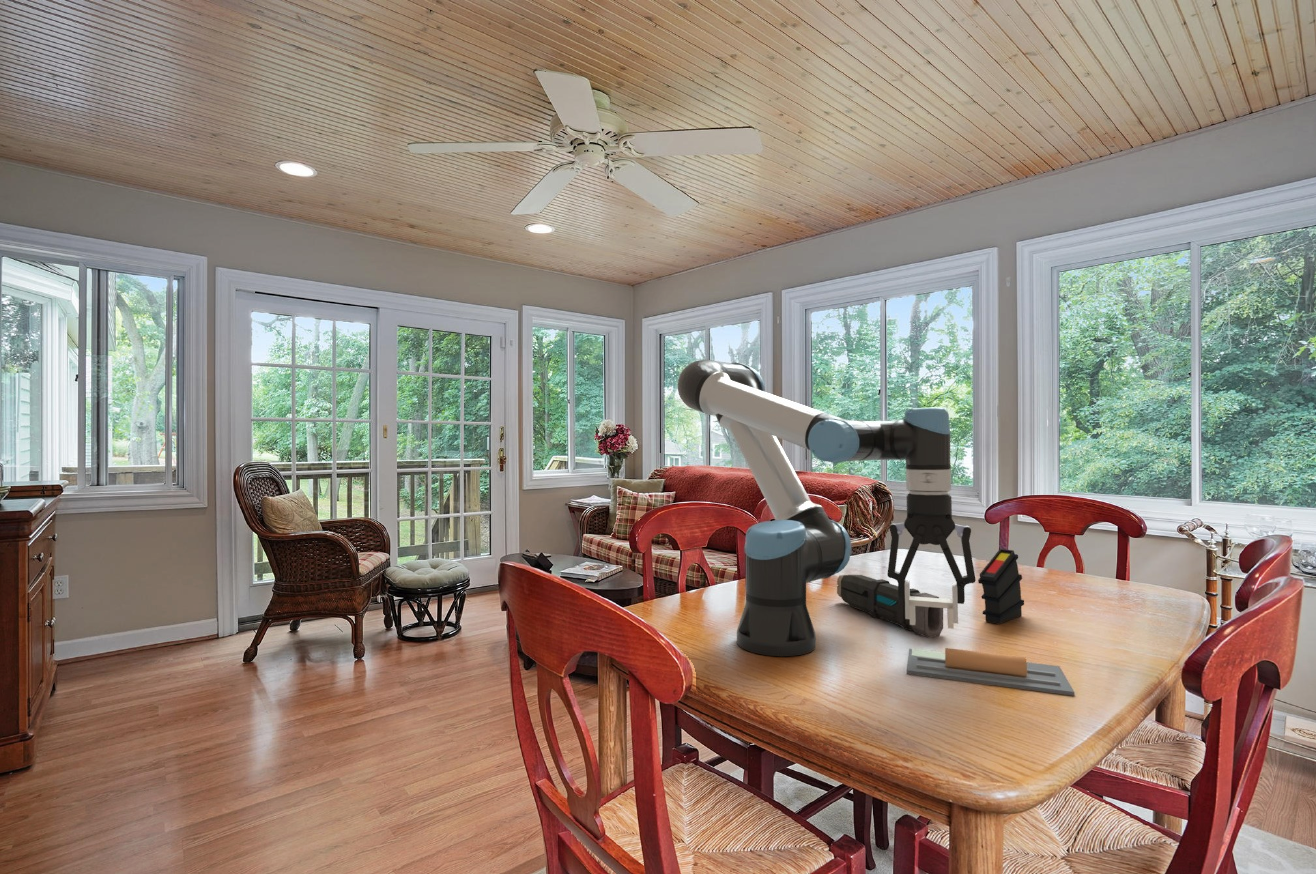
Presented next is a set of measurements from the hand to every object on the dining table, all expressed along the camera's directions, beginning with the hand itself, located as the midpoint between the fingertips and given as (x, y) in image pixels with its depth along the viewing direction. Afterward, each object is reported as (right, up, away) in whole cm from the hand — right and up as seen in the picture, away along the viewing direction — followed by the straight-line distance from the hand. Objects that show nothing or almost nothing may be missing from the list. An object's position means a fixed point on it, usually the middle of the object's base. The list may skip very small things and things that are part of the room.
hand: (931, 619), depth 114 cm
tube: (+1, -8, +26) cm, 27 cm away
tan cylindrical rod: (+6, -6, -8) cm, 12 cm away
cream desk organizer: (0, -1, 0) cm, 1 cm away
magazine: (+26, -7, +24) cm, 36 cm away
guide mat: (+6, -7, -7) cm, 11 cm away
